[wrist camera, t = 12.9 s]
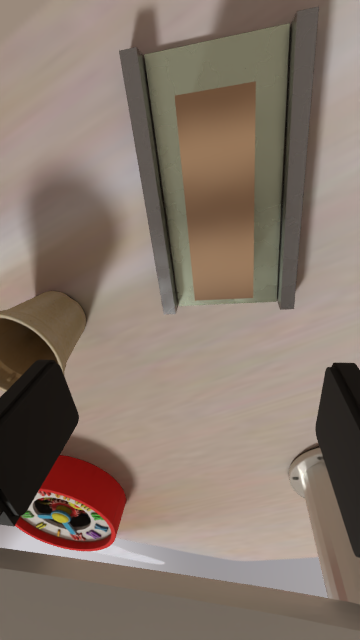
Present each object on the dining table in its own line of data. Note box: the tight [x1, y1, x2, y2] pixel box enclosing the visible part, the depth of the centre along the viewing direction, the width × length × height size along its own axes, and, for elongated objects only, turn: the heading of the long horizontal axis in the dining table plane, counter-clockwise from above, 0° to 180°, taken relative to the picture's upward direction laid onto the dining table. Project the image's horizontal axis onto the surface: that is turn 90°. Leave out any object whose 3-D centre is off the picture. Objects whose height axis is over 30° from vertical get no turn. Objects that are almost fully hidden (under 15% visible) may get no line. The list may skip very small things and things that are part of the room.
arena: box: [119, 7, 319, 314], centre depth 23 cm, size 12×20×2 cm, turn 7°
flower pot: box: [0, 291, 86, 392], centre depth 29 cm, size 9×9×9 cm
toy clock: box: [15, 455, 126, 551], centre depth 50 cm, size 20×6×20 cm
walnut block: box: [175, 81, 256, 301], centre depth 21 cm, size 13×4×6 cm, turn 7°
